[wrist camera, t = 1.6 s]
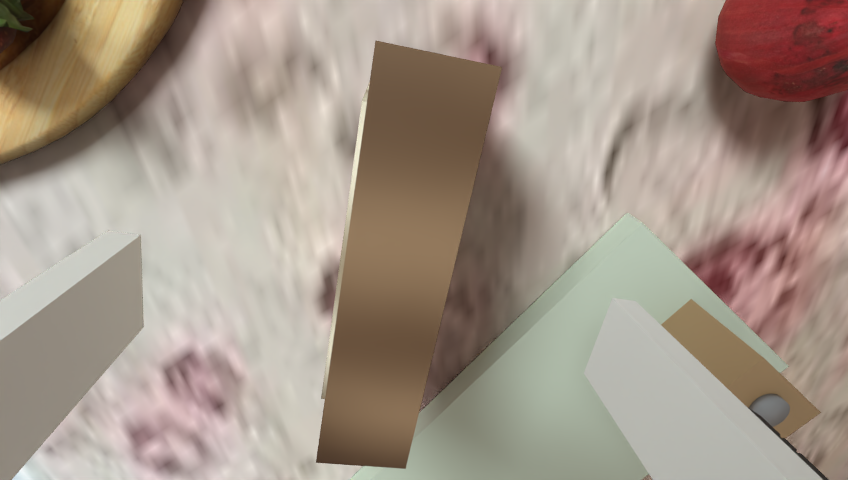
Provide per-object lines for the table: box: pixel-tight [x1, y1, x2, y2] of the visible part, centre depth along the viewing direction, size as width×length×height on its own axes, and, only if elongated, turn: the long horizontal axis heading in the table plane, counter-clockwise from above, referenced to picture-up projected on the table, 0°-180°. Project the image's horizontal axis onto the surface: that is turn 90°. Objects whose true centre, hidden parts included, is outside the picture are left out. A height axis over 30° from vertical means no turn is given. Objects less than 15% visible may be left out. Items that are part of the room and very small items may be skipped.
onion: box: [715, 0, 848, 102], centre depth 17 cm, size 6×6×8 cm
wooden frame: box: [316, 41, 502, 469], centre depth 18 cm, size 13×3×10 cm, turn 169°
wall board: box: [350, 213, 821, 480], centre depth 25 cm, size 24×14×7 cm, turn 139°
